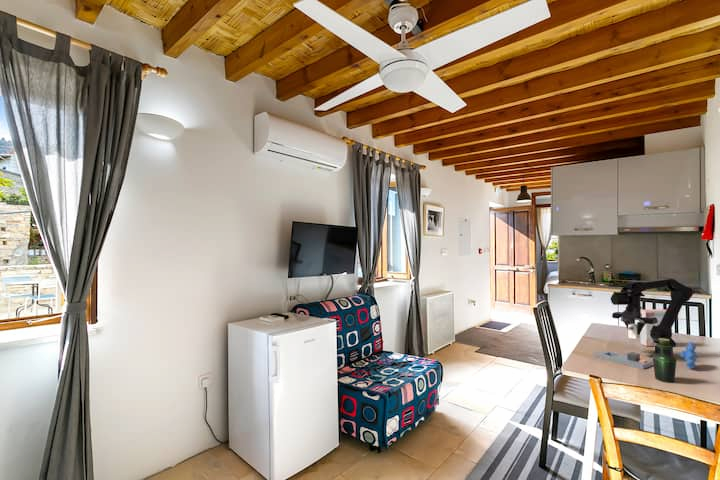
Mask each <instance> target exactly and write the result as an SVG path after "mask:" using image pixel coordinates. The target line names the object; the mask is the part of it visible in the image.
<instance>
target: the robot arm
mask: <svg viewBox="0 0 720 480" xmlns="http://www.w3.org/2000/svg"><path fill="white" fill-rule="evenodd" d="M664 287H666V288H667V290H669V291H670V295H669V296H670V302H669V304H668V307H667V308H666V309H665V310H666V312H665V314H664V316H663V318H662V320H661V322H660V324H659V325H657V326H655V325H653V327H652V330H651V331H650V332H651V333H650V336H651V338H652V339H653V342H654V343H656V344H657V343H659V338H664V339H669V340H670V341H669V344H670V345H672V347H673V349H670V350H669V353H668V354H670V355H671V356H673V357H674V358H675V355H674V348H675V347H676V346H677V342H676V341H675V340H674V339H673V330H672V331H671V328H672V329H673V326H674V324H675V321H676V319H677V317H678V315H679V313H680V312H681V310H682V307H683V305H684V304H685V303H687V302H688V301H690V300H691V299H692V297H693V295H694V291H693V290H692V288H691V287H689V286H686V285H684V284H683V283H681V282H679V281H677V280H676V279H674V278H670V277H665V278H664V277H663V278H659V279H651V280H650V279H649V280H644V281H643V280H640V281H639V280H627V281H626V282H625V283H624V285H623V287H622V288H621V290H620V291H618V292H617V291H613V293H612V295H611V297H610V302H611V304H612V305H614V306H615V305H616V306H621V305H622V306H625V309H624V310H623V311H622V312H621V311H620V312H619V311H616V312H613V313H612V314H611V318H613V319H618V320H619V319H620V321H621V322H622V323H623V324H625V327H626V329H627V330H628V325H629V324H633V323H632V321H634V320H635V321H638V322H636V324H637V325H638V329H637V334H638V335H639V334H640V332H641V331H642V329H643V327H644V325H645V324H656V323H658V320H657V318H655V317H649V316H648V317H641V316H642V314H641V309H643V308H642V307H643V306H642V305H641V299H642V297H646V295H645V294H644V293H643V292H644V291H646V290H649V289H657V288H664ZM671 337H672V339H671ZM657 353H660V351H659V348H658V347H656V346H655V347H654V354H657Z"/></svg>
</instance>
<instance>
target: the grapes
mask: <svg viewBox="0 0 720 480" xmlns="http://www.w3.org/2000/svg"><path fill="white" fill-rule="evenodd" d="M696 348H697V347H696V345H695V344H694V343H693V342H688V343H687V344H686V347H685V350H682V351H680V352H679V353H678V355H679V356H680V357H681V358H684V359H685V362H686V364H685V365H686V366H687V368H688V369H690V370H692V369H694V368H696V367H697V364H696V361H697V358H698V357H699V356H698V354H697V353H696V351H695V350H696Z"/></svg>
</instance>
